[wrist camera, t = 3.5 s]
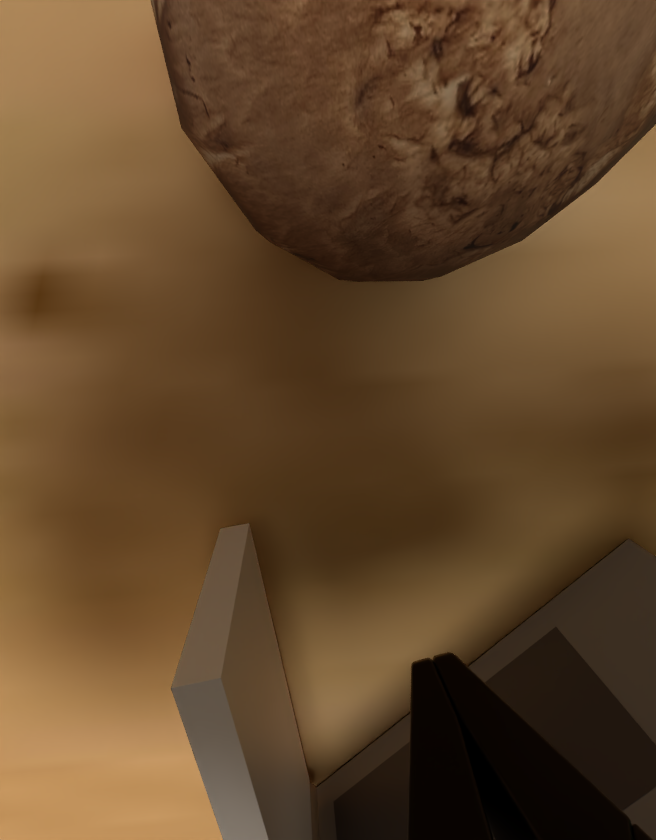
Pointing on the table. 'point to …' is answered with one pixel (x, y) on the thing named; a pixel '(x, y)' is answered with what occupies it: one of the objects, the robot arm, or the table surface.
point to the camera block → (544, 702)
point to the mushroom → (408, 118)
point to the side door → (243, 704)
